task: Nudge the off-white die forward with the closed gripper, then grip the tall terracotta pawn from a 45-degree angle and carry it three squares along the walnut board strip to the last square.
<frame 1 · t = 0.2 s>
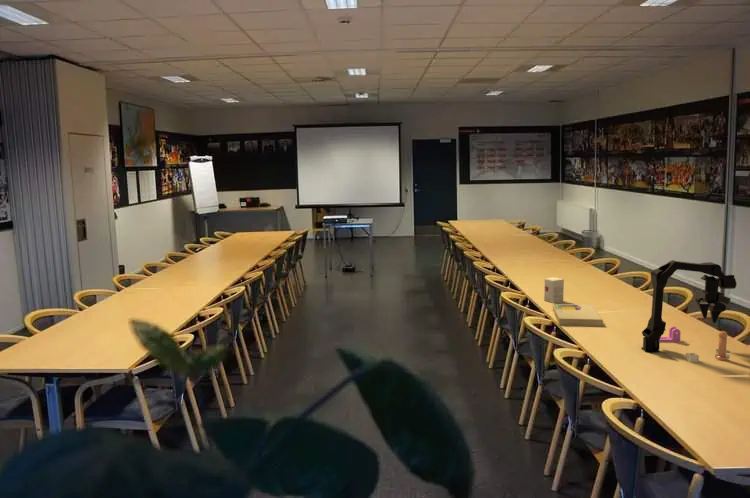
hand: (709, 320, 310), 14 cm above the table, tool pointing down, fingers open, 9 cm apart
supplement box: (553, 301, 420), on the table
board: (722, 357, 300), on the table
pawn: (721, 359, 295), point 1 cm above the table, touching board
die: (691, 362, 294), on the table
bracket: (664, 341, 328), on the table
puzzle box: (576, 318, 377), on the table
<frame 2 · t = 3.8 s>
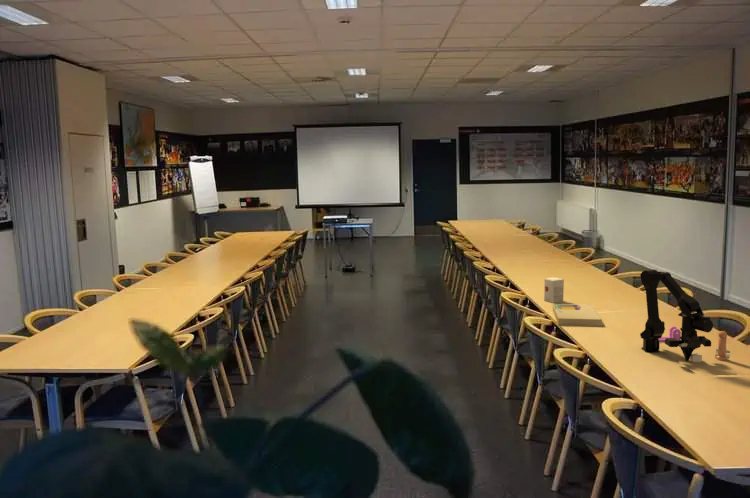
hand: (687, 360, 294), 1 cm above the table, tool pointing down, fingers closed
die: (695, 362, 294), on the table, touching gripper
everything else where it was.
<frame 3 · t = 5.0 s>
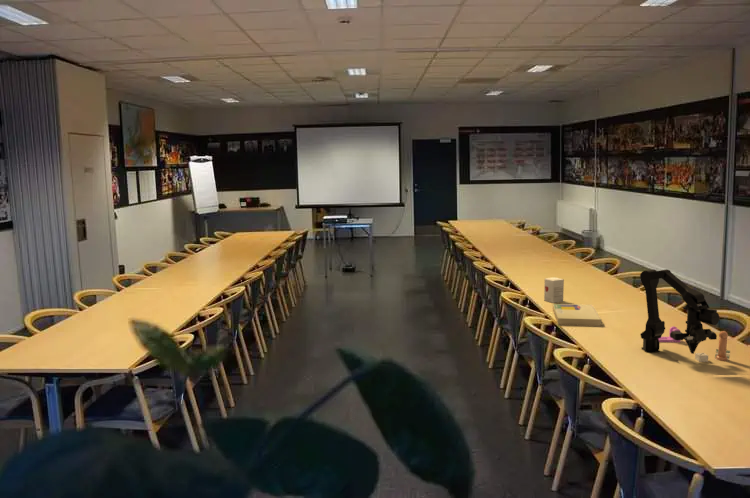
hand: (692, 353, 293), 4 cm above the table, tool pointing down, fingers closed
die: (701, 362, 294), on the table
everything else where it was.
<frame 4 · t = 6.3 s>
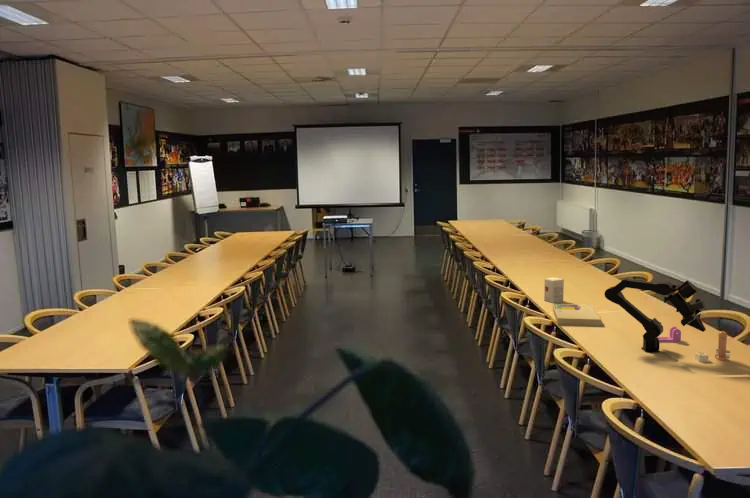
hand: (704, 330, 297), 13 cm above the table, tool tilted 45°, fingers closed
nothing on the table moved.
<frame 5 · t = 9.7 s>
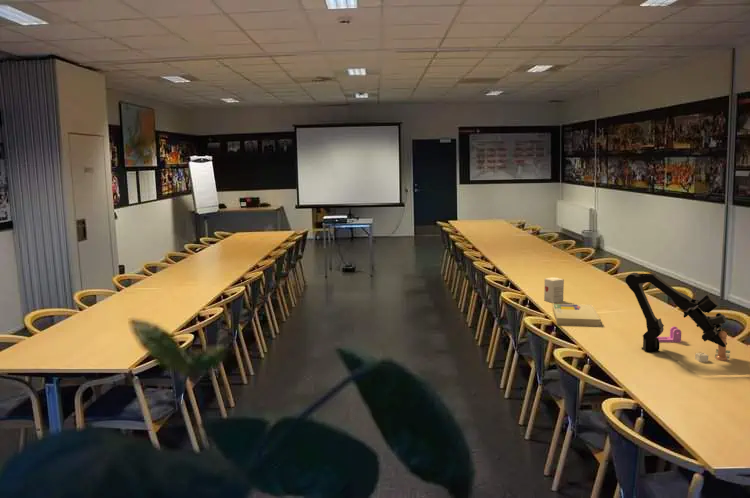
hand: (725, 345, 293), 8 cm above the table, tool tilted 45°, fingers closed on pawn, 3 cm apart
pawn: (721, 359, 295), point 1 cm above the table, touching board, gripper
everything else where it was.
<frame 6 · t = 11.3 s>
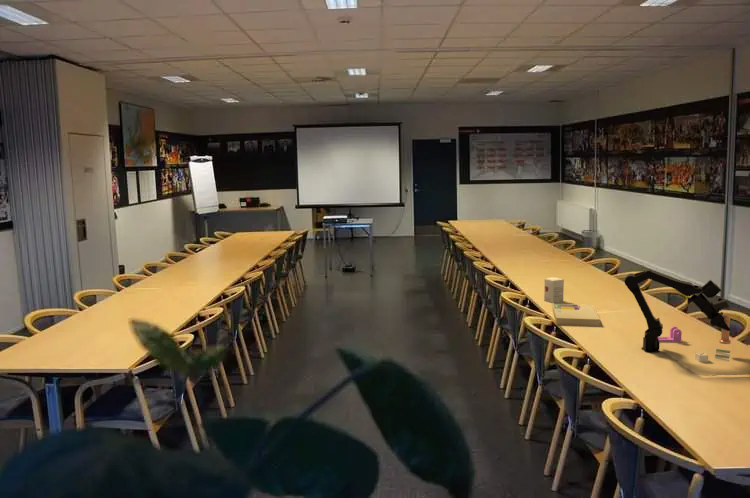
hand: (729, 329, 298), 14 cm above the table, tool tilted 45°, fingers closed on pawn, 3 cm apart
pawn: (724, 342, 299), point 7 cm above the table, touching gripper
everything else where it was.
when the fingers open (8 cm above the table, at t = 13.0 s): pawn stays where it is, resting on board.
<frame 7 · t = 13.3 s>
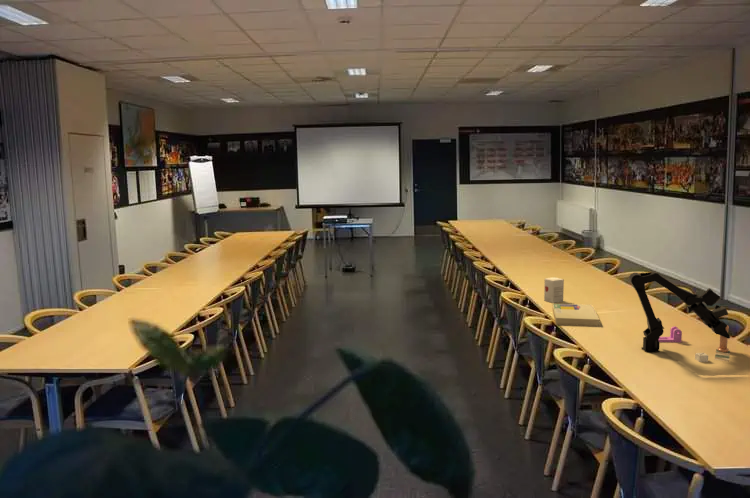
hand: (727, 335, 305), 9 cm above the table, tool tilted 45°, fingers open, 7 cm apart
pawn: (723, 351, 306), point 1 cm above the table, touching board
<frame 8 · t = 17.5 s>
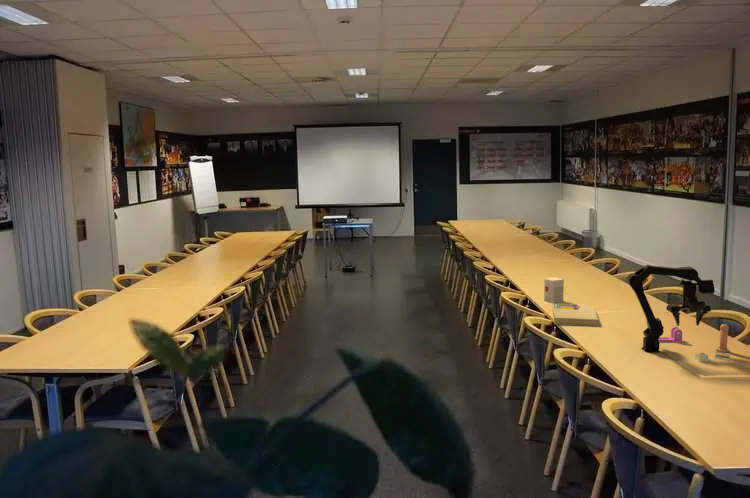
hand: (687, 325, 308), 13 cm above the table, tool pointing down, fingers open, 9 cm apart
at the end: pawn 0.0 cm from the target spot, point 1.0 cm above the table; pawn tilted 0°; die moved 4.3 cm from its start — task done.
